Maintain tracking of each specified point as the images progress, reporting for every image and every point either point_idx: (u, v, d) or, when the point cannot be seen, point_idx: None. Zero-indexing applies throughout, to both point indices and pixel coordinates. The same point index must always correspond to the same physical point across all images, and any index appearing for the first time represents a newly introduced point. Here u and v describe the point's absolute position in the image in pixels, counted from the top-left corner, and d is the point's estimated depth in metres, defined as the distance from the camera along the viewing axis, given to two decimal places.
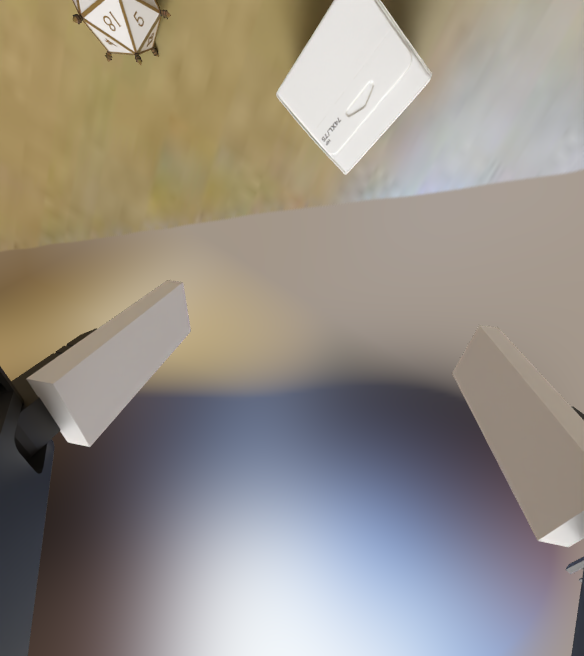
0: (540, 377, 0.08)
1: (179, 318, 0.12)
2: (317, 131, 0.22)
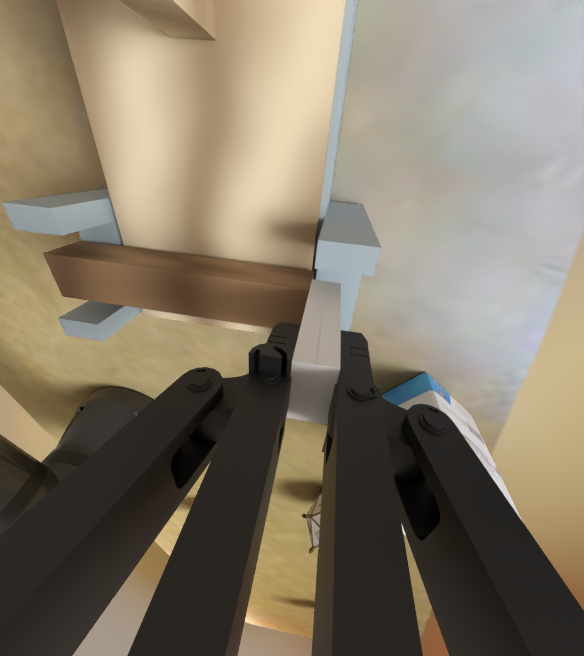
0: (337, 311, 0.11)
1: None
2: None
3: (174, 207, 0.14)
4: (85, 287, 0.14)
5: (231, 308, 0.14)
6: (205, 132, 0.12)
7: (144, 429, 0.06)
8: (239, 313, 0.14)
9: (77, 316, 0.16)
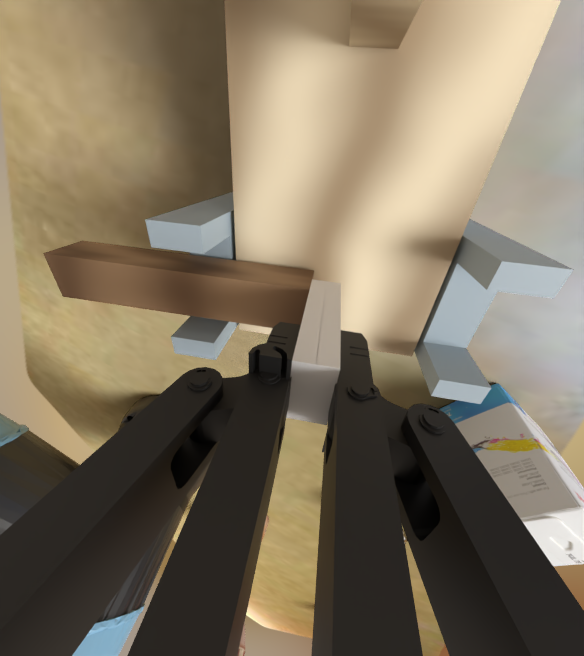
0: (337, 311, 0.11)
1: None
2: (567, 563, 0.21)
3: (303, 221, 0.14)
4: (85, 287, 0.15)
5: (231, 308, 0.14)
6: (360, 145, 0.11)
7: (144, 429, 0.06)
8: (239, 313, 0.14)
9: (188, 333, 0.15)
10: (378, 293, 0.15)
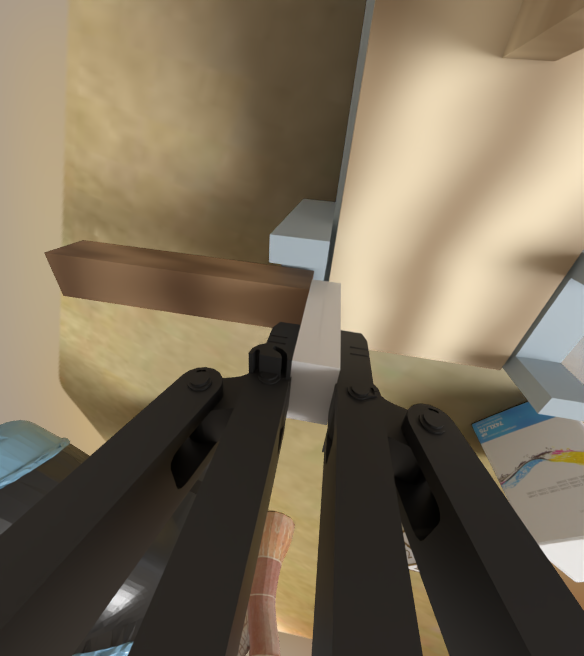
0: (337, 311, 0.11)
1: None
2: None
3: (412, 234, 0.13)
4: (86, 286, 0.15)
5: (232, 307, 0.14)
6: (491, 158, 0.11)
7: (144, 429, 0.06)
8: (239, 313, 0.14)
9: None
10: (478, 307, 0.15)
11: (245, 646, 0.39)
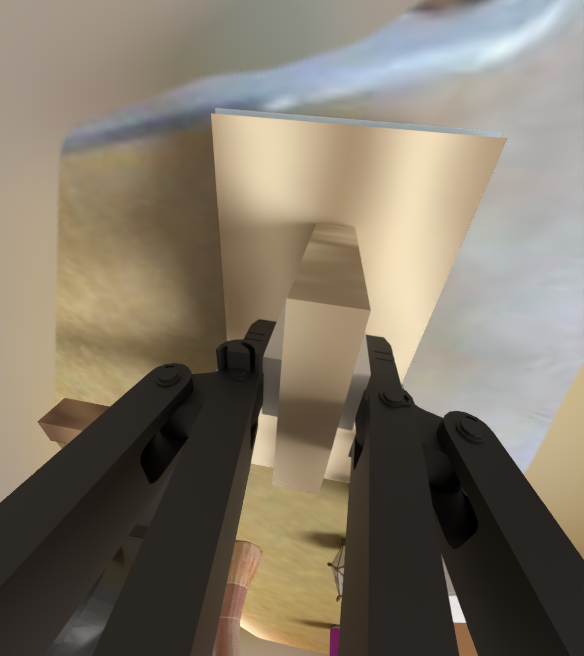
0: None
1: None
2: None
3: None
4: (65, 438, 0.22)
5: None
6: None
7: (111, 426, 0.06)
8: None
9: None
10: (330, 453, 0.22)
11: None
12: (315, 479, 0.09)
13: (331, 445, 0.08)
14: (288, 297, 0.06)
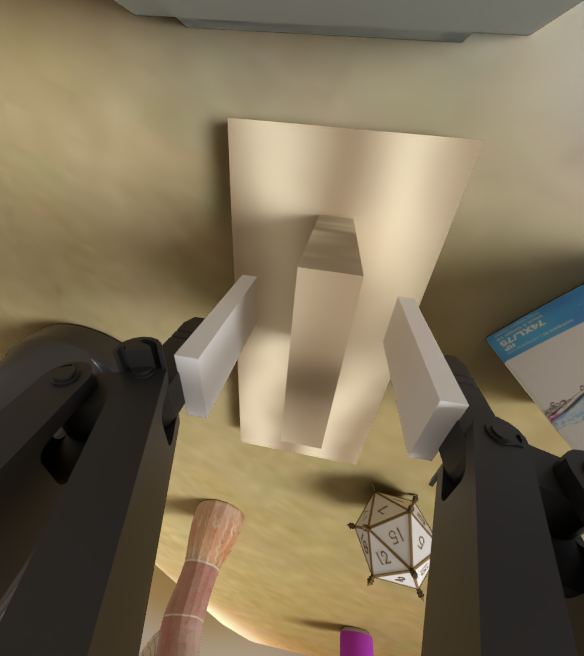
0: (428, 332, 0.10)
1: (252, 309, 0.13)
2: None
3: (281, 397, 0.22)
4: None
5: None
6: None
7: None
8: None
9: None
10: (331, 433, 0.23)
11: None
12: (318, 433, 0.11)
13: (332, 399, 0.10)
14: (299, 266, 0.07)
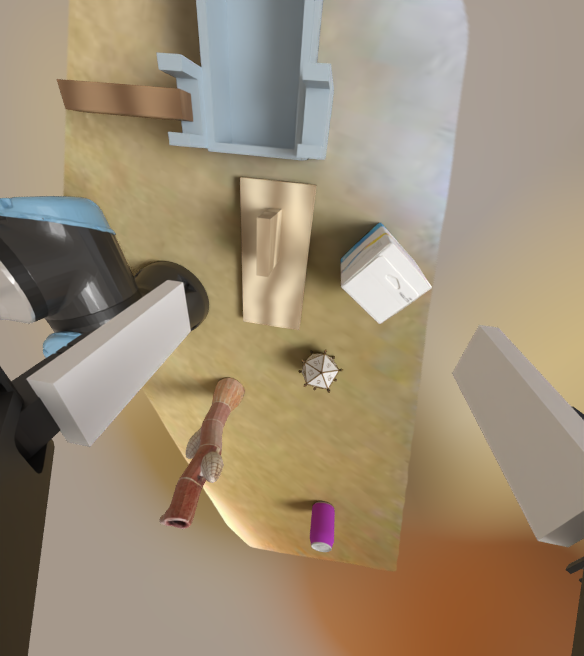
0: (540, 377, 0.08)
1: (179, 318, 0.12)
2: (402, 304, 0.36)
3: (261, 290, 0.49)
4: (77, 100, 0.29)
5: (147, 106, 0.29)
6: (273, 275, 0.47)
7: None
8: (151, 109, 0.29)
9: None
10: (285, 310, 0.50)
11: (197, 447, 0.54)
12: (266, 270, 0.38)
13: (268, 255, 0.37)
14: (257, 217, 0.34)
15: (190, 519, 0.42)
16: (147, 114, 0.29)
